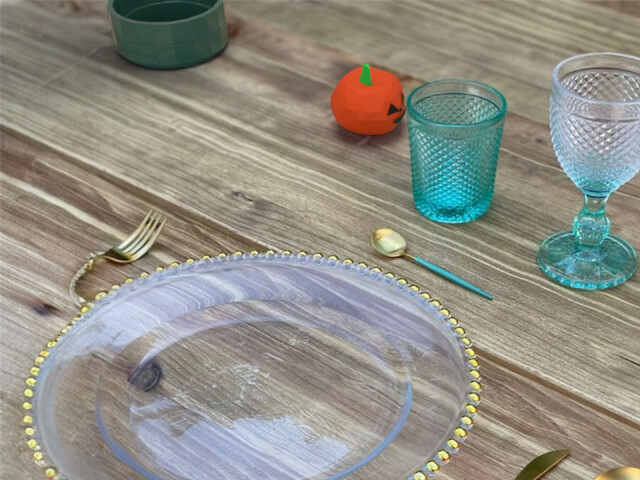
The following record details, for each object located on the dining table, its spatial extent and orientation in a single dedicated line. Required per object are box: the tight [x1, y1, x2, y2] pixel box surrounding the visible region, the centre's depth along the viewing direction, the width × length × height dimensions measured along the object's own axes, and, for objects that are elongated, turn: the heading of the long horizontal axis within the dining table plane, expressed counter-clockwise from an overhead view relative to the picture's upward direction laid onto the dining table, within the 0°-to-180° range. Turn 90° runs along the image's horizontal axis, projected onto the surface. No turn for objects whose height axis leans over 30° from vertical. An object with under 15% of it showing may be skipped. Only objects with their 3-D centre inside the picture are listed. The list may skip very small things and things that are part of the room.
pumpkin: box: [330, 62, 407, 136], centre depth 88 cm, size 7×8×6 cm
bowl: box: [106, 0, 230, 70], centre depth 101 cm, size 12×12×5 cm
